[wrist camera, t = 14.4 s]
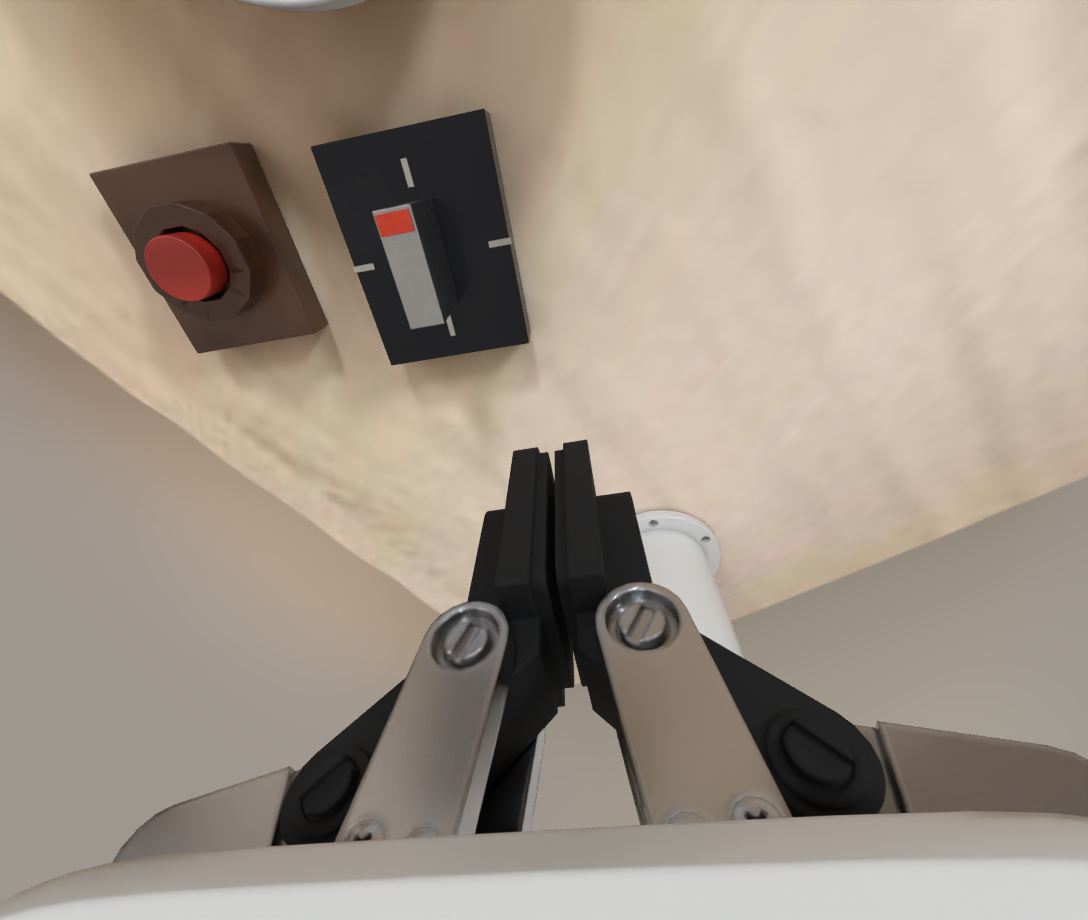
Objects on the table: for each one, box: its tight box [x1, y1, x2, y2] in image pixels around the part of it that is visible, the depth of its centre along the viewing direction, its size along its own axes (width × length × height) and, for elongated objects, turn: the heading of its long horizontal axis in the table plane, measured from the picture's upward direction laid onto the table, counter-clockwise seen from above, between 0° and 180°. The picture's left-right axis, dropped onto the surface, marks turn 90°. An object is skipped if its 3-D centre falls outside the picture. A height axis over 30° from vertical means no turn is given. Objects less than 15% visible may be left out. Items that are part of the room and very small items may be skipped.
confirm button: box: [144, 232, 228, 301], centre depth 27 cm, size 4×4×2 cm
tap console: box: [311, 109, 531, 365], centre depth 29 cm, size 13×10×3 cm
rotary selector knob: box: [372, 198, 459, 329], centre depth 26 cm, size 6×2×5 cm, turn 10°
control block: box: [89, 142, 328, 353], centre depth 29 cm, size 11×9×4 cm
